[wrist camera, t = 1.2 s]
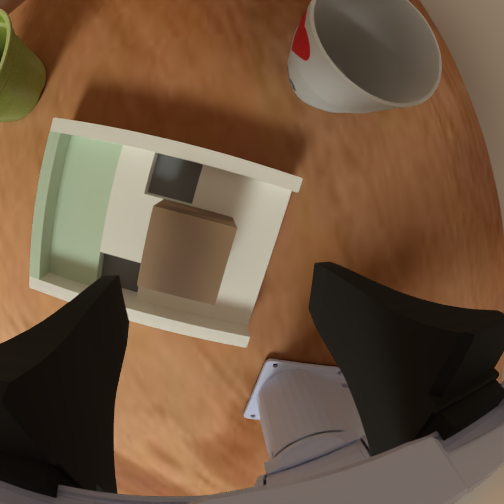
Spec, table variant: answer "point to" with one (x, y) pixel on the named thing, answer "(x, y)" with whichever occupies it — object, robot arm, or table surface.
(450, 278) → the table surface
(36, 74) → the plant pot
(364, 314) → the robot arm
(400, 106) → the cup
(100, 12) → the table surface
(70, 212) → the tray
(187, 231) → the block
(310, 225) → the table surface
